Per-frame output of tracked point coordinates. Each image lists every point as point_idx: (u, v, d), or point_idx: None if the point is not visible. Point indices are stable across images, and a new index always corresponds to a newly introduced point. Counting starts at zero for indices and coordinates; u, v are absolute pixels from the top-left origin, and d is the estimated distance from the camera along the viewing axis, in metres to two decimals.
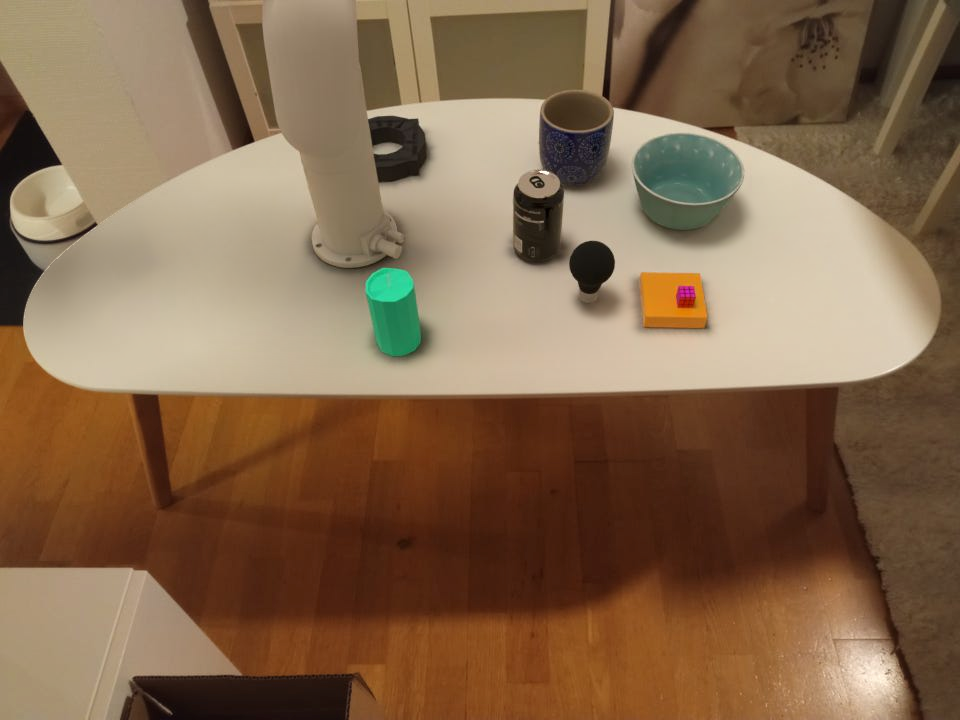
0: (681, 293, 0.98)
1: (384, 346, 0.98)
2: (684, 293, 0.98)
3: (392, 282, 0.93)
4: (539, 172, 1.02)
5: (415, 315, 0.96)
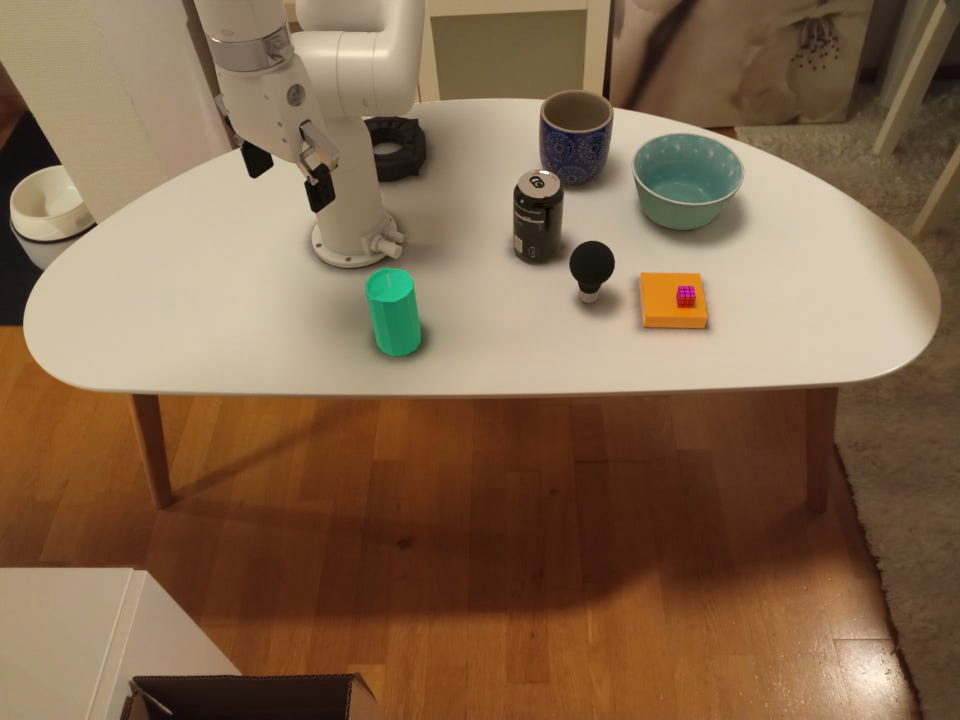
0: (681, 293, 0.98)
1: (384, 346, 0.98)
2: (684, 293, 0.98)
3: (392, 282, 0.93)
4: (539, 172, 1.02)
5: (415, 315, 0.96)
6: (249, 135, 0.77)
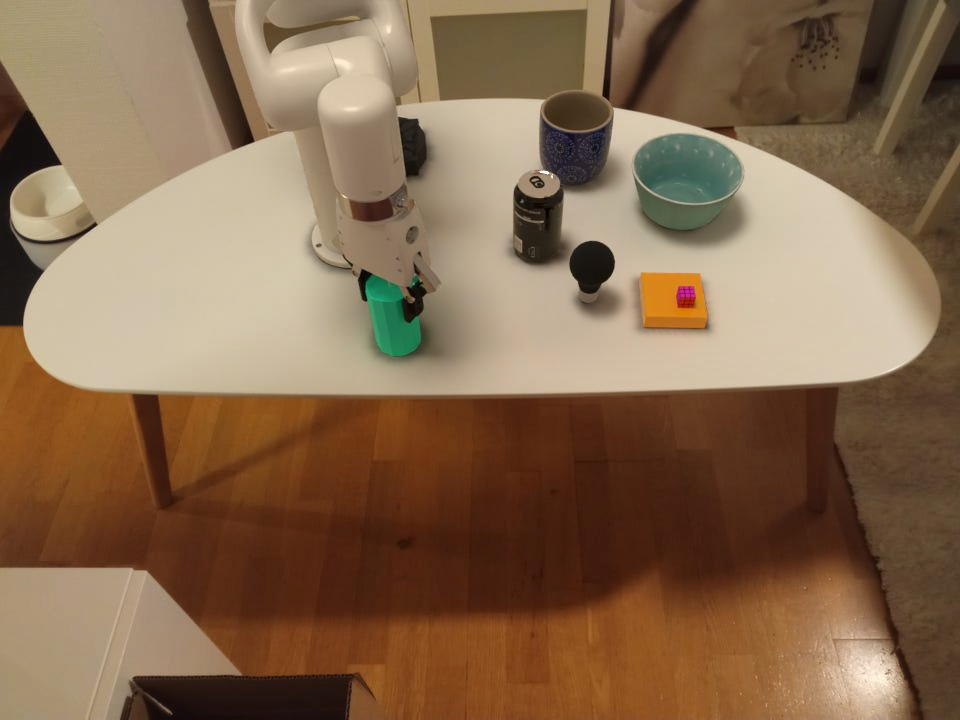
0: (681, 293, 0.98)
1: (384, 346, 0.98)
2: (684, 293, 0.98)
3: None
4: (539, 172, 1.02)
5: None
6: (361, 263, 0.88)
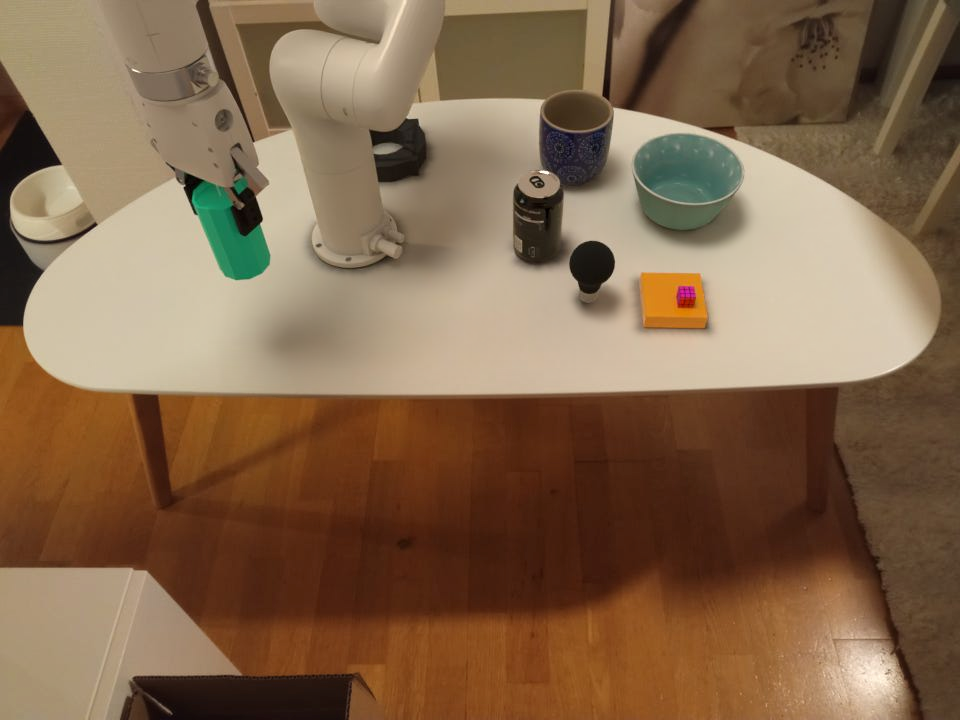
0: (681, 293, 0.98)
1: (225, 268, 0.87)
2: (684, 293, 0.98)
3: (224, 191, 0.82)
4: (539, 172, 1.02)
5: (255, 230, 0.85)
6: (179, 163, 0.77)
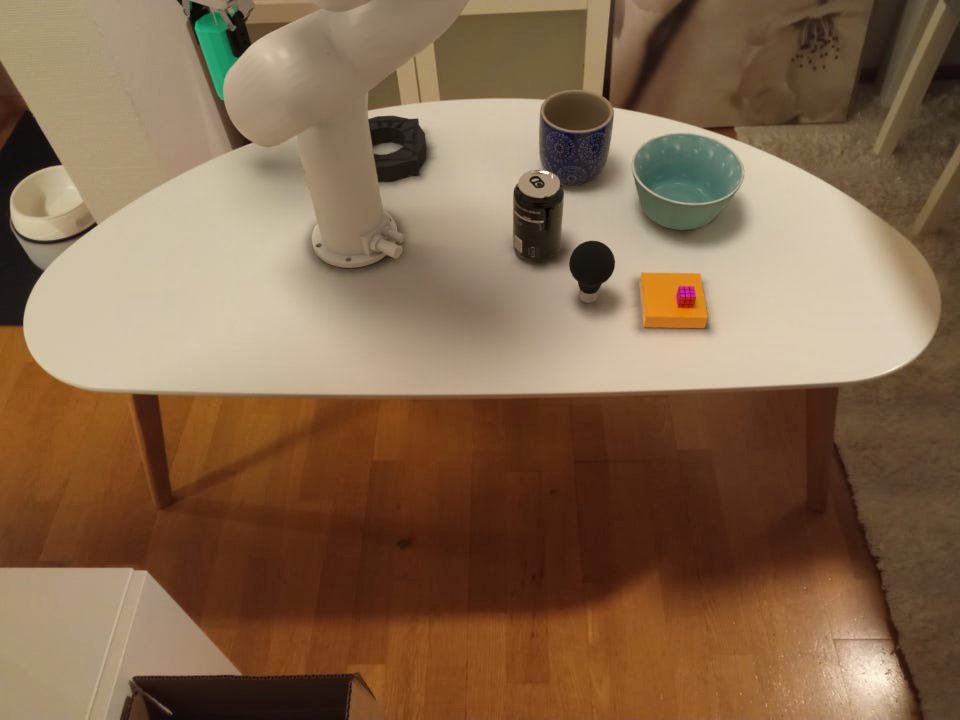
0: (681, 293, 0.98)
1: (221, 91, 1.09)
2: (684, 293, 0.98)
3: (220, 22, 1.04)
4: (539, 172, 1.02)
5: None
6: None
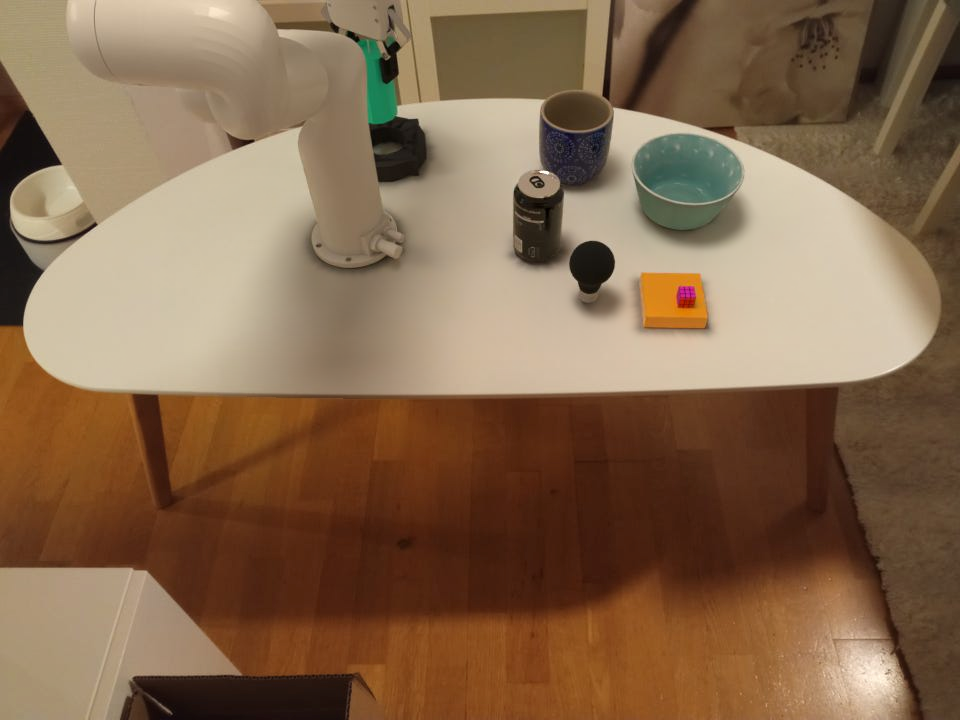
0: (681, 293, 0.98)
1: None
2: (684, 293, 0.98)
3: (372, 49, 1.10)
4: (539, 172, 1.02)
5: (391, 82, 1.13)
6: (345, 22, 1.06)
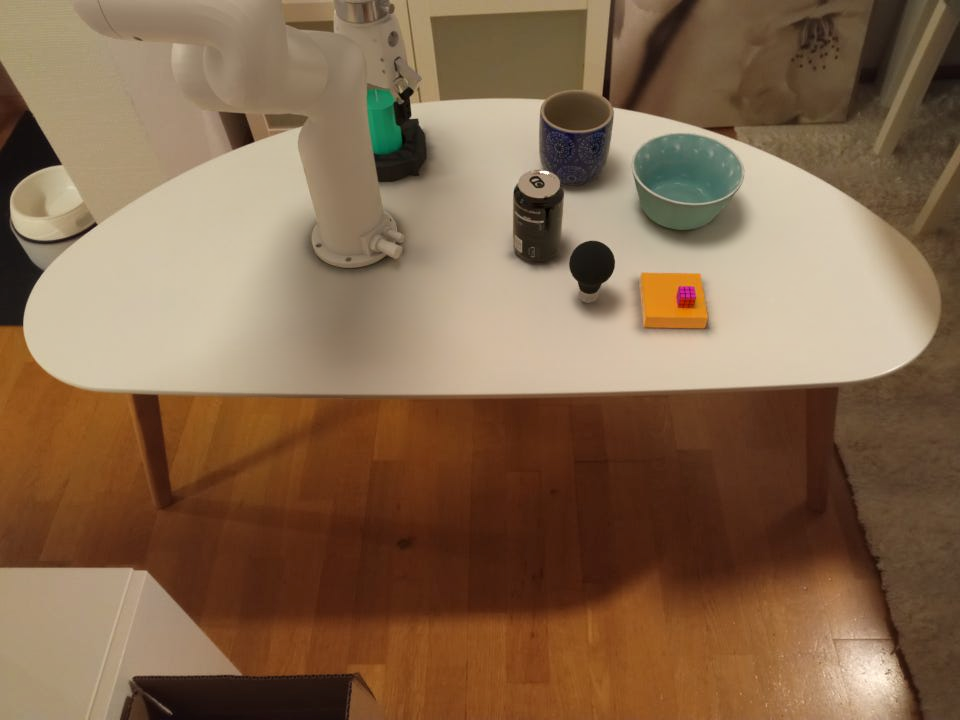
0: (681, 293, 0.98)
1: None
2: (684, 293, 0.98)
3: (380, 98, 1.17)
4: (539, 172, 1.02)
5: (398, 128, 1.19)
6: None
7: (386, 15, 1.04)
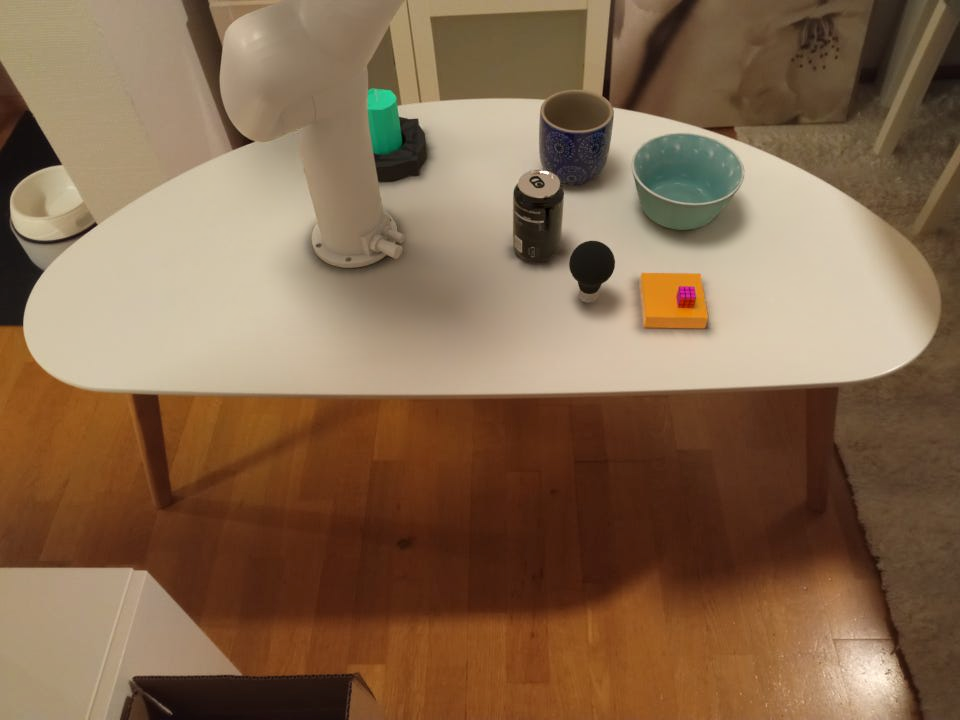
0: (681, 293, 0.98)
1: None
2: (684, 293, 0.98)
3: (380, 98, 1.17)
4: (539, 172, 1.02)
5: (398, 128, 1.19)
6: None
7: None
